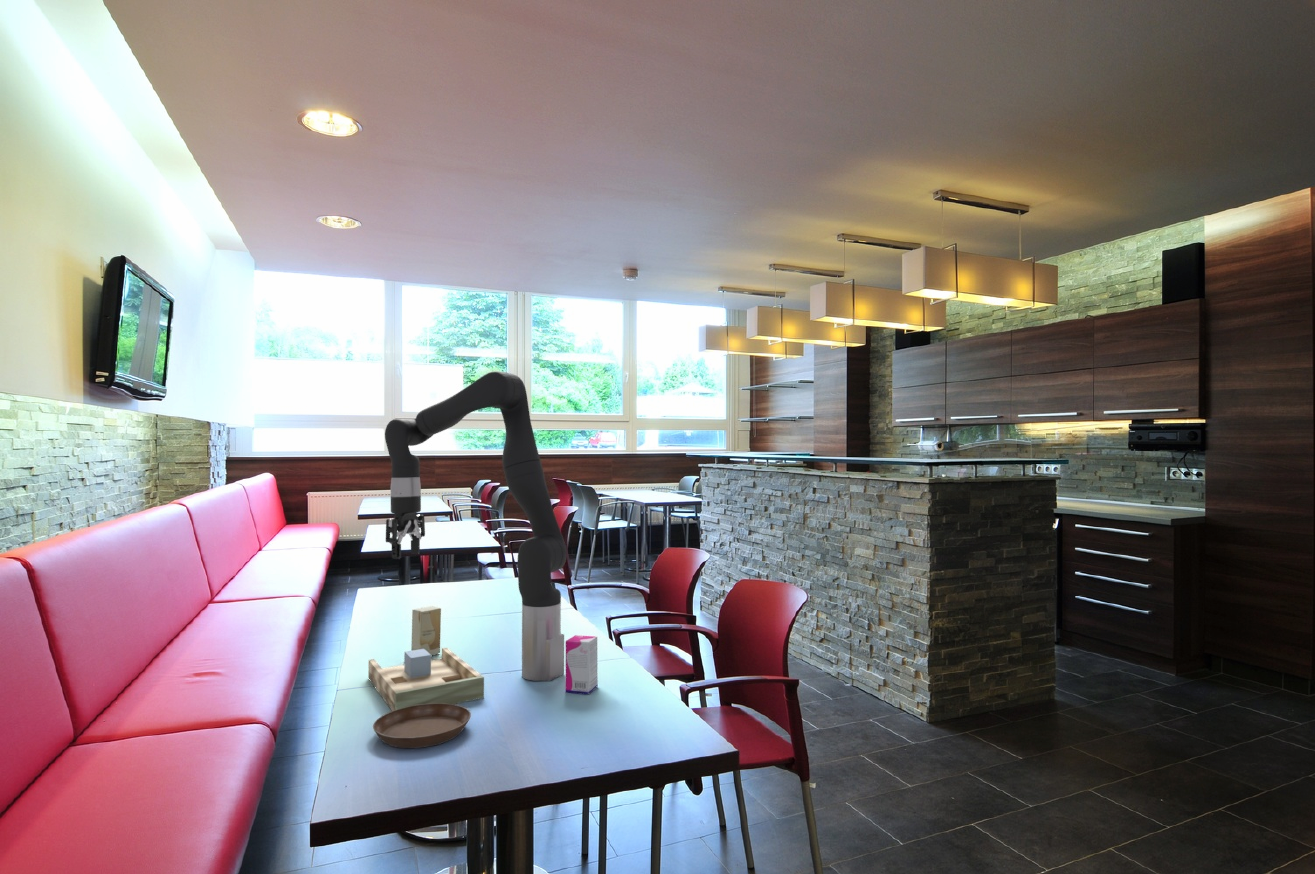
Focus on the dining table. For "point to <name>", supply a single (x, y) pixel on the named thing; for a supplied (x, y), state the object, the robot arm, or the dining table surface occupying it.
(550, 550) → the robot arm
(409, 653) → the block
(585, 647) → the supplement box
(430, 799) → the dining table surface
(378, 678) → the channel
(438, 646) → the skincare box
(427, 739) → the plant saucer
